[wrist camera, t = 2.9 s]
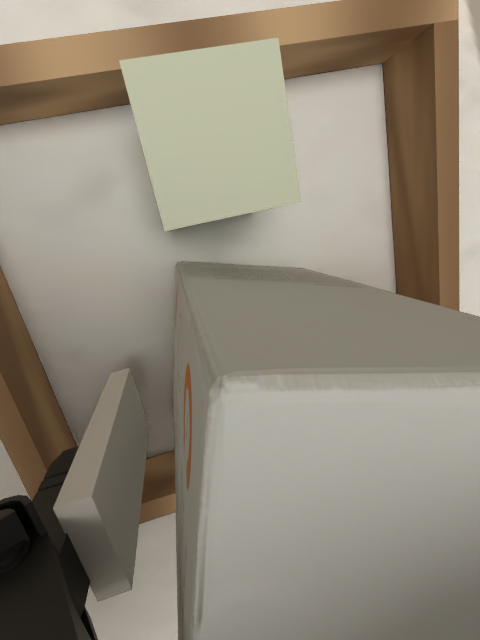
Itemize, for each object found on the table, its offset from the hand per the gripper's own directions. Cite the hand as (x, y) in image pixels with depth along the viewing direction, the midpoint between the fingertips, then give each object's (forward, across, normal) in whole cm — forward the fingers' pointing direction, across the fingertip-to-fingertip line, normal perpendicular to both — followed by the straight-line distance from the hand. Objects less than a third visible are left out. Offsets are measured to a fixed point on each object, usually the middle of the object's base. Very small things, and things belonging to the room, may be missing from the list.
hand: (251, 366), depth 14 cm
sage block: (+3, 0, +8) cm, 9 cm away
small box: (+3, 0, 0) cm, 3 cm away
